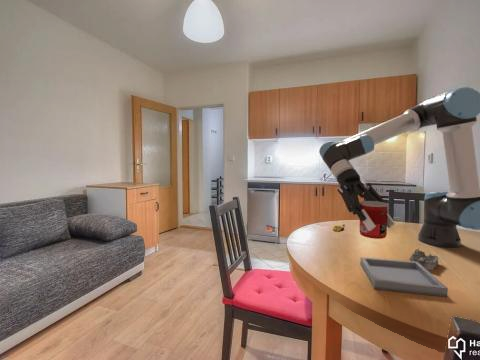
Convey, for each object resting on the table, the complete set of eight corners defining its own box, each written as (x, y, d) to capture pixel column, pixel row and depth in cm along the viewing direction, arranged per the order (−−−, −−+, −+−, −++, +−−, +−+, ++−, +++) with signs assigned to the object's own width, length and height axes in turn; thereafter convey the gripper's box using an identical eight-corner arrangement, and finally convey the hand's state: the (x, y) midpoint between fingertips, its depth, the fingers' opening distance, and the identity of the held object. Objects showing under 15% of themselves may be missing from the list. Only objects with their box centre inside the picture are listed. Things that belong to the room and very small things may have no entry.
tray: (417, 268, 84) (417, 261, 84) (447, 297, 66) (447, 288, 66) (360, 263, 88) (360, 257, 88) (374, 289, 71) (374, 280, 71)
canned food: (386, 240, 75) (387, 205, 75) (357, 236, 80) (358, 203, 79) (387, 234, 82) (388, 201, 81) (360, 230, 86) (361, 200, 85)
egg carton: (416, 258, 94) (417, 247, 93) (441, 264, 88) (442, 253, 87) (406, 265, 87) (406, 254, 87) (432, 272, 81) (432, 260, 81)
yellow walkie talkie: (331, 227, 131) (340, 222, 143) (331, 231, 131) (340, 225, 143) (340, 229, 128) (348, 223, 140) (340, 232, 128) (348, 226, 140)
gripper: (360, 179, 97) (397, 229, 83) (318, 182, 90) (350, 237, 77) (372, 166, 92) (413, 217, 78) (327, 168, 85) (364, 224, 71)
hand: (382, 227), depth 77 cm, fingers closed on canned food, 8 cm apart
